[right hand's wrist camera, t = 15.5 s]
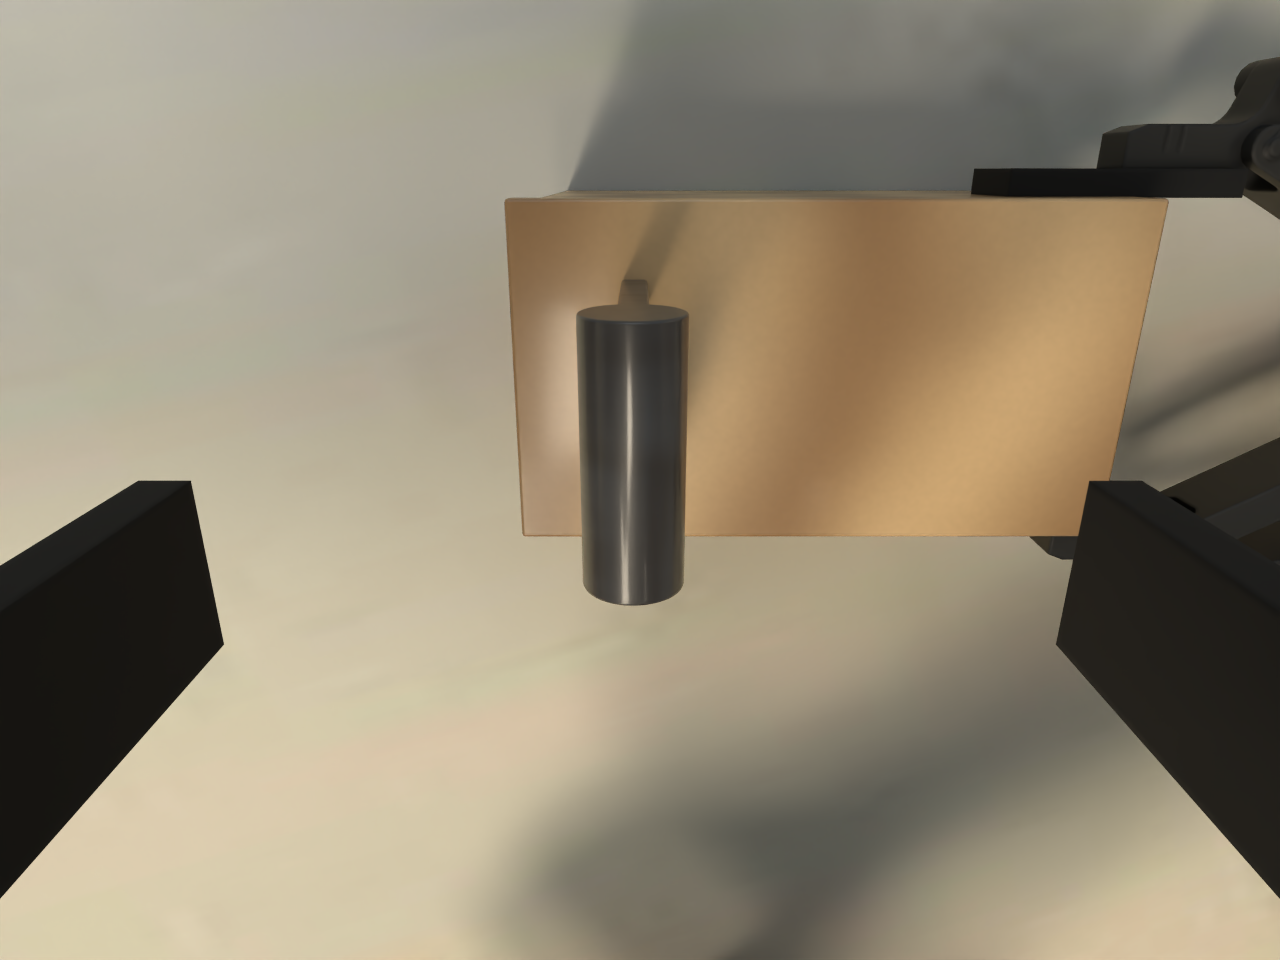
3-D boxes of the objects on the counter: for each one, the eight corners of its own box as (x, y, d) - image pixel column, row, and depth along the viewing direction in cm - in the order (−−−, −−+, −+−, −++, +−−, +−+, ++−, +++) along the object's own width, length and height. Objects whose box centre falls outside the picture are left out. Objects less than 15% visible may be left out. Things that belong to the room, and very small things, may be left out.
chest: (573, 440, 34) (552, 525, 25) (566, 190, 30) (539, 197, 22) (976, 440, 34) (1084, 525, 25) (1013, 190, 30) (1151, 197, 22)
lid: (525, 526, 25) (475, 684, 18) (508, 197, 22) (436, 212, 14) (1085, 526, 25) (1284, 684, 18) (1153, 197, 22) (1436, 211, 14)
